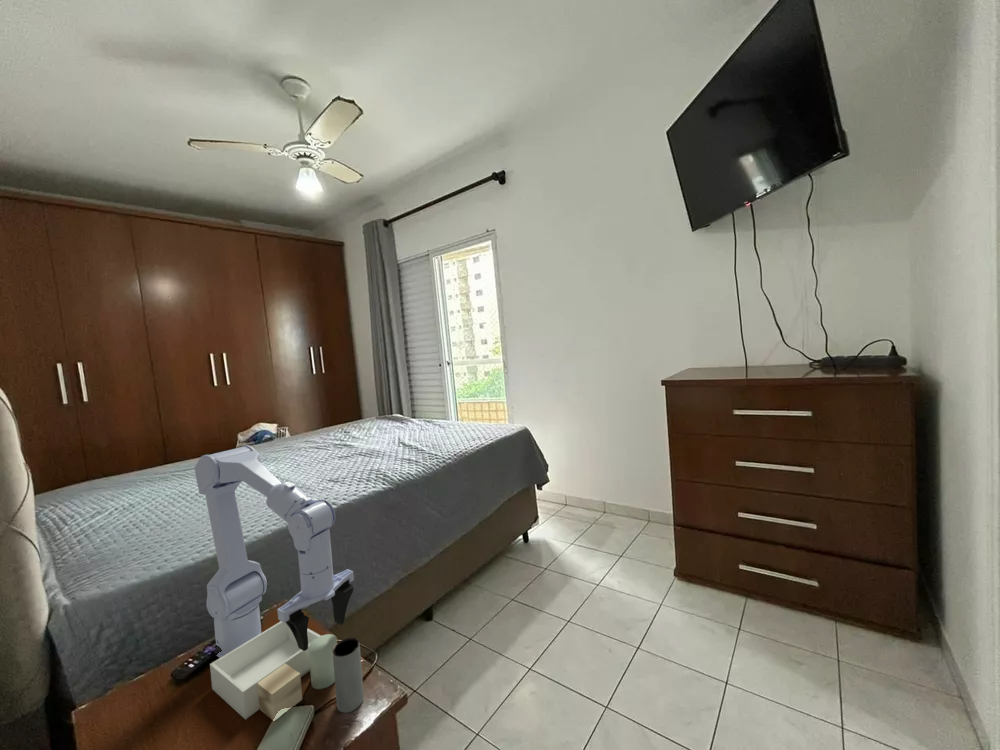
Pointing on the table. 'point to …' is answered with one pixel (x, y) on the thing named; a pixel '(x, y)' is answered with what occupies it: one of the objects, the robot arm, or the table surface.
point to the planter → (348, 674)
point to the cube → (279, 690)
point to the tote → (257, 666)
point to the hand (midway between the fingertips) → (322, 634)
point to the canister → (322, 661)
